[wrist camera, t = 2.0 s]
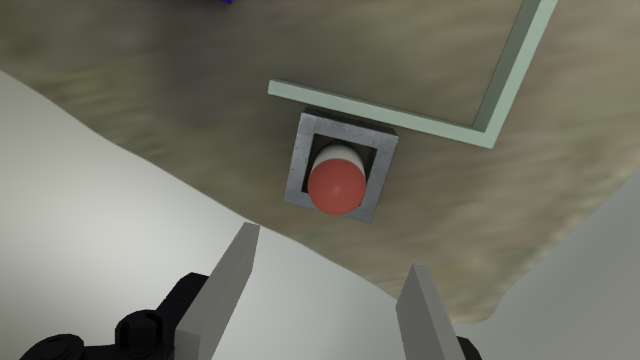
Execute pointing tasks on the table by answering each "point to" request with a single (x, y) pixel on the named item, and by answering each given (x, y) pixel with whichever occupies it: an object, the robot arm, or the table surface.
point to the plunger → (337, 179)
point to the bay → (481, 133)
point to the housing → (347, 130)
